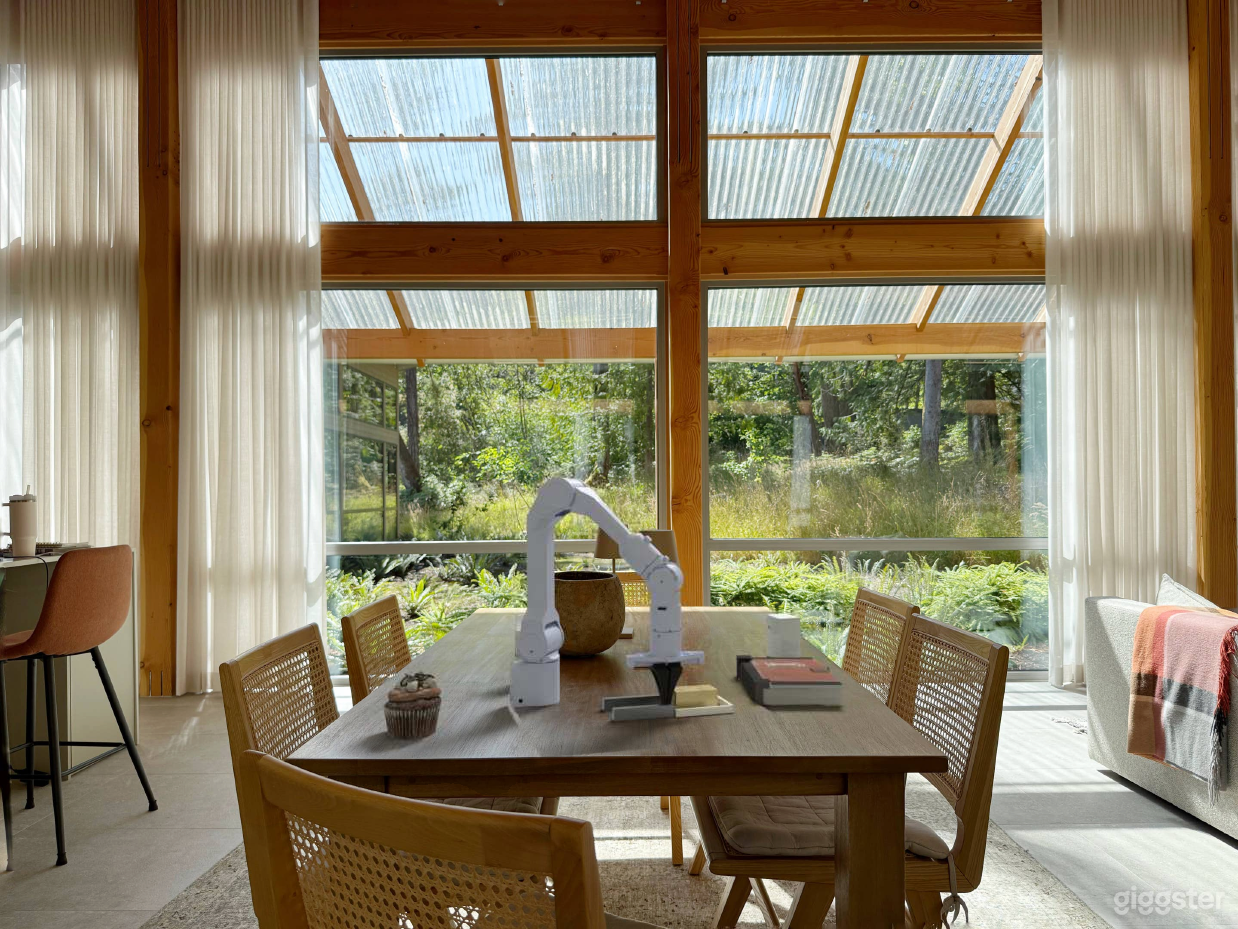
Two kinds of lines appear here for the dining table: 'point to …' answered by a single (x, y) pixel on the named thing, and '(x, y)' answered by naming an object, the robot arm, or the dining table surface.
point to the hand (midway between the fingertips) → (665, 704)
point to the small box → (783, 635)
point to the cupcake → (413, 707)
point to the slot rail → (636, 707)
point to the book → (788, 681)
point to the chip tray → (707, 709)
